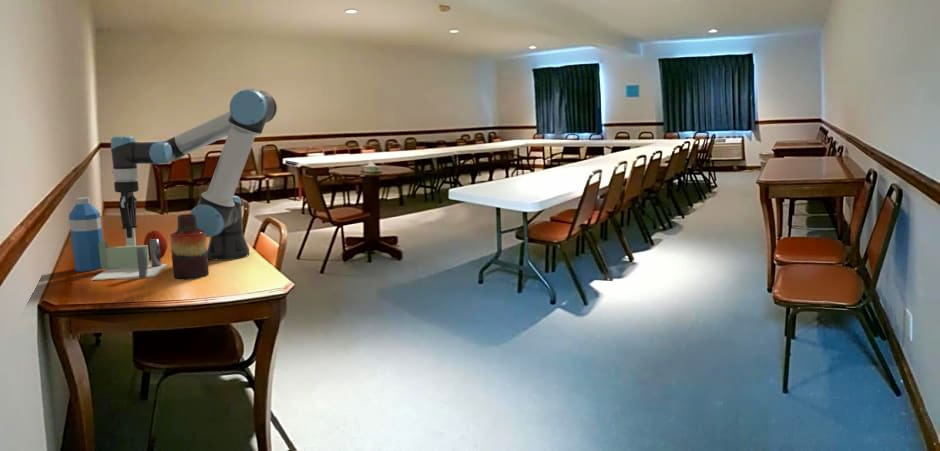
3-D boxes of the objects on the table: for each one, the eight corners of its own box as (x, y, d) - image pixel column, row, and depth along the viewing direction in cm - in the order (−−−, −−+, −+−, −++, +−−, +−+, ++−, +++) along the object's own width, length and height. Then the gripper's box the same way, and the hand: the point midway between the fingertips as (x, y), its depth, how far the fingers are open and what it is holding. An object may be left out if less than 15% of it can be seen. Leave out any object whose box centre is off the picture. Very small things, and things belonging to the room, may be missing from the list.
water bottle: (91, 271, 225) (83, 199, 221) (68, 270, 227) (60, 199, 223) (111, 265, 234) (104, 196, 230) (89, 265, 236) (81, 196, 232)
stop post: (147, 276, 217) (144, 246, 216) (145, 277, 216) (143, 247, 214) (141, 276, 217) (138, 247, 215) (139, 278, 215) (136, 248, 213)
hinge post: (162, 266, 232) (159, 238, 231) (160, 268, 229) (157, 240, 228) (153, 266, 232) (150, 239, 230) (150, 268, 229) (148, 240, 227)
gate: (149, 264, 231) (147, 239, 229) (147, 265, 229) (145, 240, 227) (103, 266, 228) (100, 241, 227) (101, 268, 226) (98, 242, 224)
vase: (215, 273, 221) (211, 213, 217) (192, 280, 211) (187, 218, 207) (190, 271, 224) (185, 212, 221) (166, 278, 214) (160, 217, 211)
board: (167, 265, 233) (167, 263, 233) (154, 277, 216) (153, 275, 216) (109, 268, 230) (109, 267, 230) (91, 280, 212) (91, 279, 212)
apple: (140, 257, 248) (137, 229, 247) (162, 253, 255) (159, 226, 253) (150, 260, 243) (147, 231, 241) (172, 256, 249) (169, 228, 248)
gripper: (120, 179, 236) (125, 243, 239) (108, 182, 223) (114, 250, 227) (142, 178, 237) (147, 242, 241) (132, 182, 224) (137, 249, 228)
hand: (131, 246), depth 234 cm, fingers closed
